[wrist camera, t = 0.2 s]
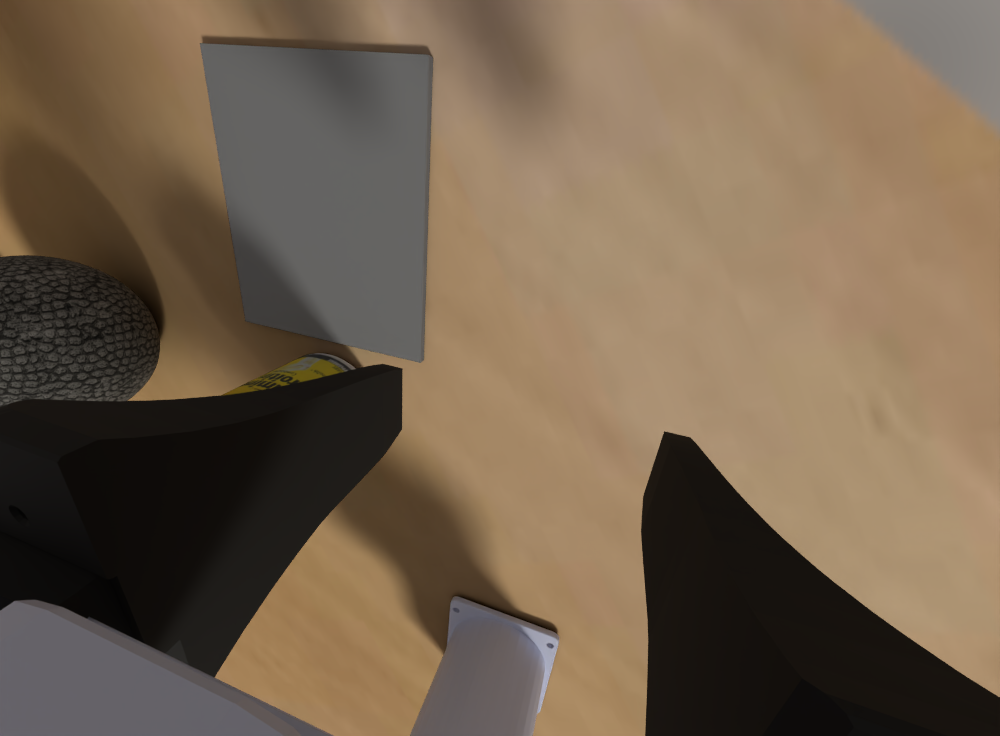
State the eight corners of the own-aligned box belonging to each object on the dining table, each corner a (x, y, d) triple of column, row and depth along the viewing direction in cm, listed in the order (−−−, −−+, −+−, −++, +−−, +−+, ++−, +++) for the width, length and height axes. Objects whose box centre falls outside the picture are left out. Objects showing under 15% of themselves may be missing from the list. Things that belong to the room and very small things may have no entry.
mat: (423, 360, 23) (420, 362, 23) (250, 319, 26) (245, 321, 25) (433, 57, 17) (428, 54, 17) (207, 46, 20) (199, 43, 20)
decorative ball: (62, 252, 29) (-192, 279, 20) (159, 238, 26) (-90, 263, 17) (125, 382, 32) (-66, 453, 24) (217, 384, 29) (37, 467, 20)
